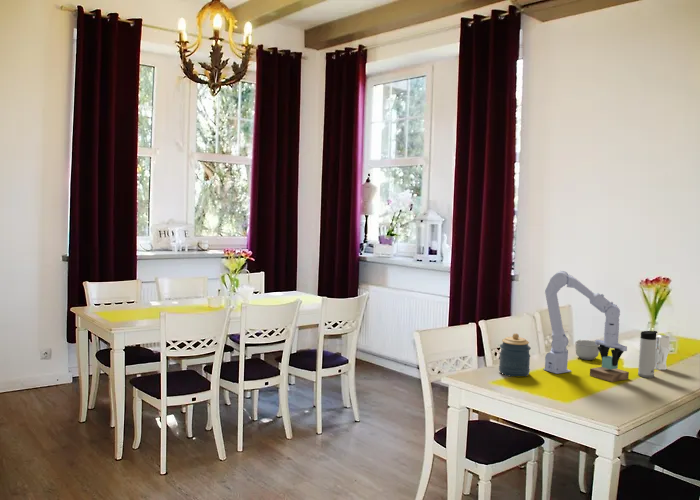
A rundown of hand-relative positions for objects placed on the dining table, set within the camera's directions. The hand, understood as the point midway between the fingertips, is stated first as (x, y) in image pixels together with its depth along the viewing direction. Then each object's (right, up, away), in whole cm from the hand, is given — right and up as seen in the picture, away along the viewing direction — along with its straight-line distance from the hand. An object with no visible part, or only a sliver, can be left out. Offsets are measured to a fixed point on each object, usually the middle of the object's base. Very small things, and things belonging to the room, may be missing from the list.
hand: (609, 364), depth 274 cm
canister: (-41, -5, +2) cm, 41 cm away
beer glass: (+30, -5, +18) cm, 35 cm away
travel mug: (+18, -6, +4) cm, 19 cm away
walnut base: (0, -6, 0) cm, 6 cm away
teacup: (+3, -3, +35) cm, 36 cm away
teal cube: (0, -2, 0) cm, 2 cm away
